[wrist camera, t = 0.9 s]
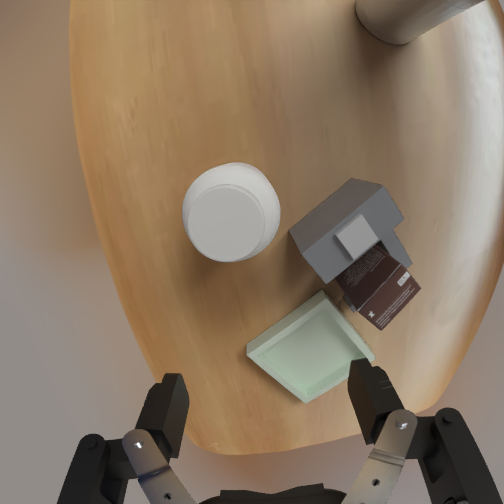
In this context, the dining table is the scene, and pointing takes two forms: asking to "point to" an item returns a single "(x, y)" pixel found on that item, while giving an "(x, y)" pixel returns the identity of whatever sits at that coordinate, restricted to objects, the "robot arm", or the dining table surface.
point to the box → (378, 286)
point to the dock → (349, 229)
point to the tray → (309, 348)
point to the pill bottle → (231, 212)
